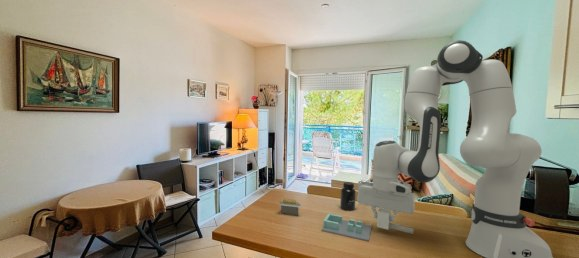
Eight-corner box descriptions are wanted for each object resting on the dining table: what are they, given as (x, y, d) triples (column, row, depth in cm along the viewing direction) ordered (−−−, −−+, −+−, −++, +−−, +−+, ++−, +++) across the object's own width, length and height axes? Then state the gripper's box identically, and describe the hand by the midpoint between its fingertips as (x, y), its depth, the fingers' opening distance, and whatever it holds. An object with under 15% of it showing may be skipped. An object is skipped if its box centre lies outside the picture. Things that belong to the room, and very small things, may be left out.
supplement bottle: (352, 212, 107) (353, 186, 106) (338, 208, 110) (339, 183, 110) (356, 207, 113) (357, 182, 112) (343, 204, 116) (343, 180, 115)
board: (371, 226, 93) (371, 219, 93) (368, 241, 82) (369, 233, 82) (329, 218, 100) (329, 211, 100) (321, 230, 89) (321, 223, 89)
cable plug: (413, 231, 86) (414, 215, 85) (412, 236, 82) (413, 219, 82) (379, 222, 92) (380, 208, 92) (377, 226, 89) (377, 211, 89)
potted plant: (275, 207, 112) (275, 193, 112) (312, 211, 107) (312, 197, 107) (266, 217, 101) (266, 202, 100) (307, 223, 96) (307, 207, 96)
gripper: (355, 181, 92) (354, 215, 92) (414, 190, 81) (412, 229, 81) (360, 177, 97) (359, 210, 98) (415, 185, 86) (414, 222, 86)
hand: (384, 219), depth 89 cm, fingers closed on cable plug, 4 cm apart
